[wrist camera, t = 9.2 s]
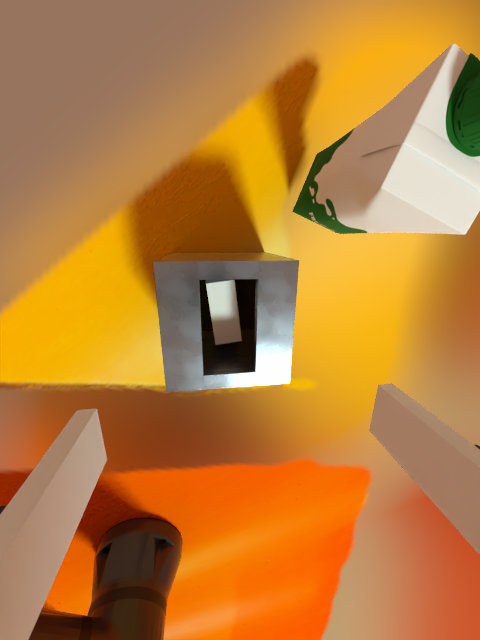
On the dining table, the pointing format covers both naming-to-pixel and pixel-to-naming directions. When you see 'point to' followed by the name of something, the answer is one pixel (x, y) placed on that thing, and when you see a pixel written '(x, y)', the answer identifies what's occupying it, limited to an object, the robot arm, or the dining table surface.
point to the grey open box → (199, 347)
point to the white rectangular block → (224, 310)
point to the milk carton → (406, 159)
